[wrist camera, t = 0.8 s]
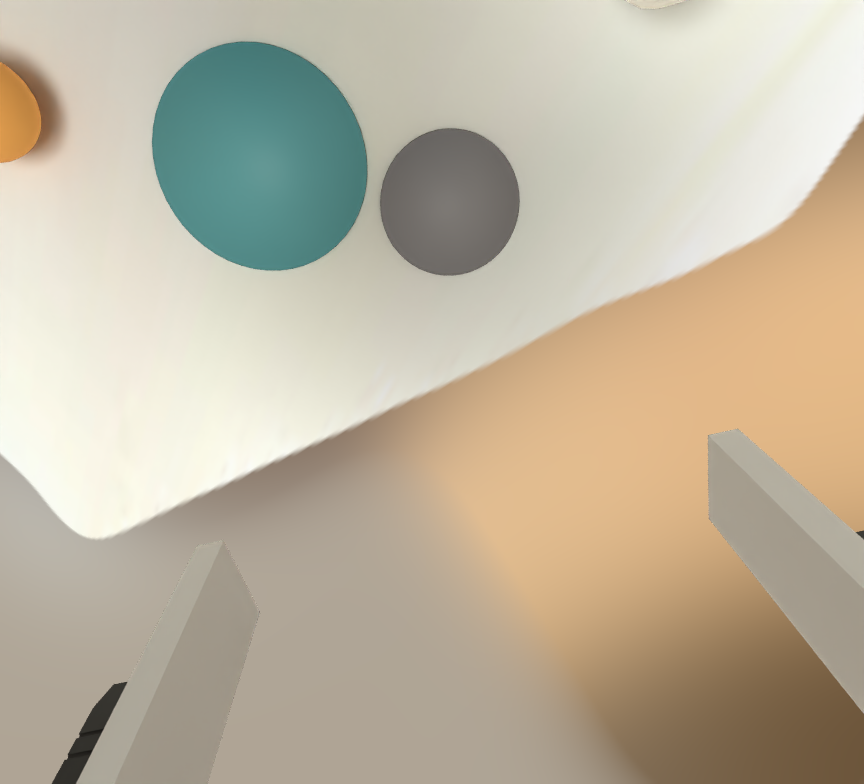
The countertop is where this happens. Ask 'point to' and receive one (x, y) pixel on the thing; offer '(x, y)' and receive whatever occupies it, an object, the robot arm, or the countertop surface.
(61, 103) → the countertop surface
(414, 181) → the disc
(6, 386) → the countertop surface
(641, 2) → the shot glass
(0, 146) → the ball
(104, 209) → the countertop surface
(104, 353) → the countertop surface
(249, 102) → the disc
